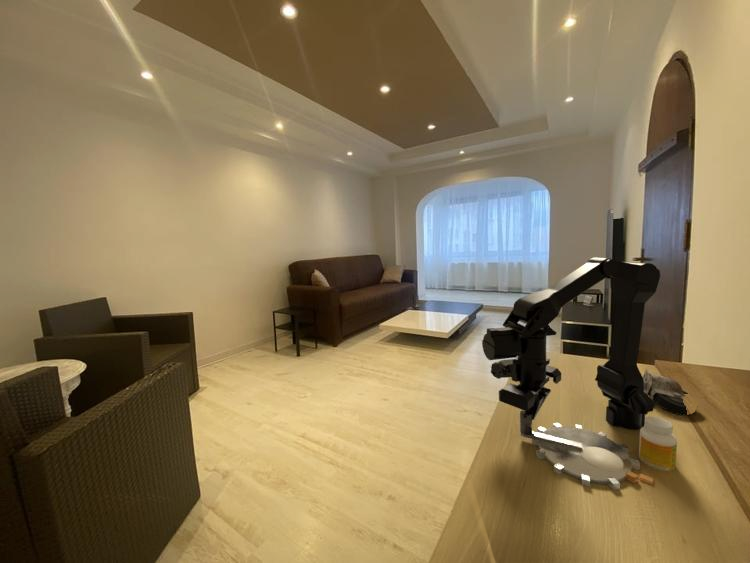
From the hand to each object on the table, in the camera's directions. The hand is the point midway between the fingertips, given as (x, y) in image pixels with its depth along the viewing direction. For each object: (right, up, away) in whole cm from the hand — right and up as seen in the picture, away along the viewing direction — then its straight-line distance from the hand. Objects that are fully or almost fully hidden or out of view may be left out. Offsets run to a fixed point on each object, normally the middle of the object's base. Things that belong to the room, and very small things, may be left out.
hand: (531, 419), depth 71 cm
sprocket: (+6, -4, -6) cm, 10 cm away
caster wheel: (+42, -1, +12) cm, 44 cm away
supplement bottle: (+20, -5, -10) cm, 23 cm away
